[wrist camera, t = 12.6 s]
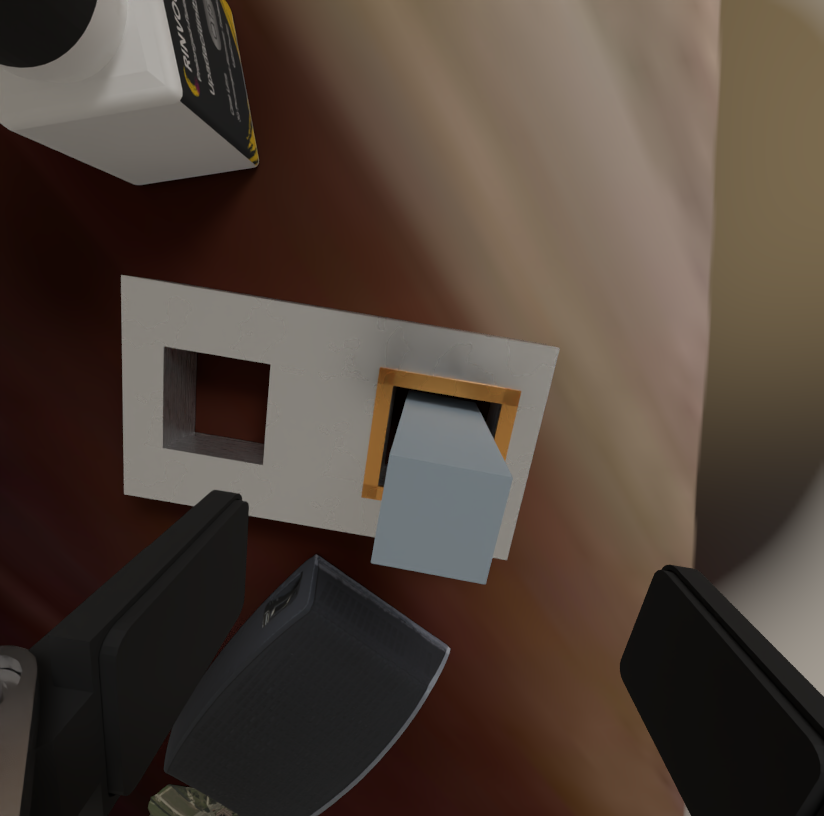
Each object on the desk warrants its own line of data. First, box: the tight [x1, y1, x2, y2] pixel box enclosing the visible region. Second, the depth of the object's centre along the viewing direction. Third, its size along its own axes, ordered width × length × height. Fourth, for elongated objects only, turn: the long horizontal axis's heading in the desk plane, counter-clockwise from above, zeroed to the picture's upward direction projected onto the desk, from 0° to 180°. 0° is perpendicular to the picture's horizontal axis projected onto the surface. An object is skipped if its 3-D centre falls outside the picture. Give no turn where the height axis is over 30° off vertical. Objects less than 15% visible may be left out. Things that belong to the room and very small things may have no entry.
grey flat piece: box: [121, 275, 560, 560], centre depth 22 cm, size 12×22×3 cm, turn 81°
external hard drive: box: [164, 554, 450, 816], centre depth 27 cm, size 13×19×4 cm
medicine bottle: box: [0, 0, 259, 185], centre depth 14 cm, size 7×7×12 cm
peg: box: [371, 390, 513, 584], centre depth 18 cm, size 4×4×11 cm
